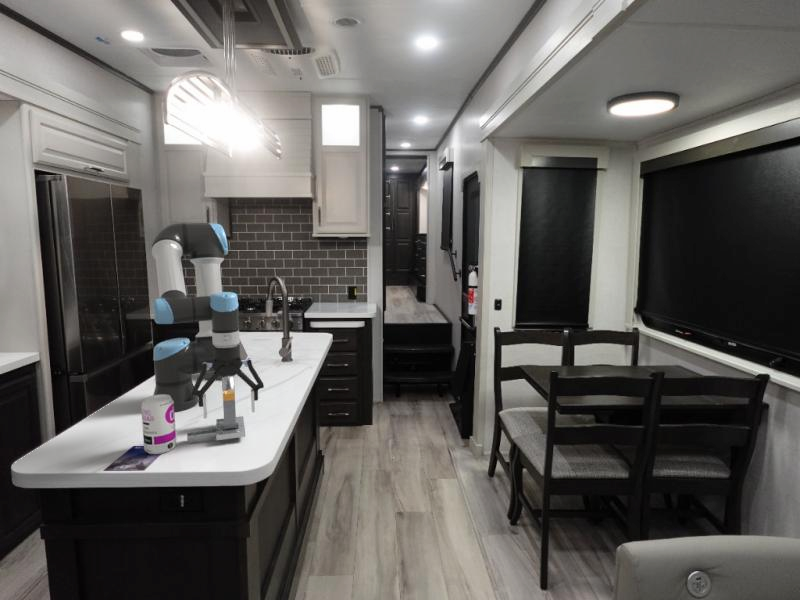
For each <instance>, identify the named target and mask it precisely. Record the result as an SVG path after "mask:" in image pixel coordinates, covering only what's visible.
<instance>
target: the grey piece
mask: <svg viewBox="0 0 800 600" xmlns="http://www.w3.org/2000/svg"><path fill="white" fill-rule="evenodd" d="M221 384H222V387H221V389H222V392H223V391H228V390H234V392H235V391H236V388H235V387H236V386H235V376H225V377H222V379H221ZM222 404H223V403H222ZM222 406H223V410H224V404H223V405H222ZM235 416H236V429H234V430H226V431H225V424H224V418H216V422H215V423H216V426H215V429H206V430H199V431H190V432H187V435H186V438H187V445H189V444H196V443H203V442H211V441H220V440H221V441H222V440H228V439H229V440H230V438H231V439H237V438H243V437H244V438H245V437H246V429H245V428H246V427H245V420H244V416H243V415H242V416H241V415H240V416H237V415H236V408H235Z"/></svg>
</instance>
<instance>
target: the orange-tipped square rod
mask: <svg viewBox="0 0 800 600" xmlns="http://www.w3.org/2000/svg"><path fill="white" fill-rule="evenodd" d="M222 404H224V409H223V419H224V424H225V429H224V431H226V430H234V429H237V428H236V417H237V415H236V416H235V409H236V394H235V392H234V390H228V391H223V390H222ZM230 439H232V438H230ZM230 439H229V440H230Z"/></svg>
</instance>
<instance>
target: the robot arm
mask: <svg viewBox="0 0 800 600" xmlns="http://www.w3.org/2000/svg"><path fill="white" fill-rule="evenodd" d="M226 235H227V234H226V232H225V229H224V227H223V226H222V225H221V224H219V223H212V222H211V223H210V222H193V223H192V222H185V223H184V222H176V223H171V224H169V225H166V226H165V227H163V228H162V229H160V231H158V232H157V233H156V234H155V236H154V237H153V240H152V242H151V247H150V249H151V250H150V251H151V255H152V257H153V259H154V260H155V265H156V274H157V285H158V294H159V298H156V299H154V300H153V302H152V304H153V317H154V318H153V319H154V322H155V323H156V324H158V325H173V324H182V323H183V324H184V323H193V322H196V323H197V322H198V327H199V332H198V333H197V334H196V335H195V340H194V341H191V340H190V339H189V337H188V338H187V337H176V338H171V339H170V338H169V339H166V340H164V341H161V342H159V343H157V344H156V345H155V346H154V348H153V359H152V361H154V363H153V364H154V381H155V386H154V387H155V388H154V392H153V394H152V396H153V395H160V394H166V395H170V396H171V398H172V400H173V401H174V413H176V412H181V411H184V410H185V411H186V410H188V409H191V408H193V407H196V405H198V406H199V408H203V419H207V418H208V409H207V407H208V406H207V394H206V392H208V390H209V389H210V388H211V386H212V385H213V383H215V381H216V380H218V379H217V378H218V377H219V375H220V376H222V377H225V376H233V375H235V374H236V375H237V377H239V378H240V379H241V380H243V381H244V383H245V384H247V385H248V386H249V387H250V388H251V389H250V396H251V397H250V400H251V401H250V402H251V404H250V405H251V413H256V407H255V401H256V402H257V401H259V390H260V389H263V388H264V387H265V385H264V382H263V381H262V379H261V377H260V376H259V374H258V372H257V371H256V369H255V367H254V365H253V362H252V359H251V357H247V358H246V360H241V358H240V345H239V344H238V343H240V341H241V339H240V325H239V324H240V322H239V306H240V305H239V301H238V300H239V299H238V295H237V293H235V292H233V291H223V286H222V274H221V264H222V262H223V261H224V260H225V256H226V255H228V254H229V249H228V246H229V245H228V240H227V236H226ZM182 256H183V257H184V256H185V257H186V256H187V257H189V262H190V263H192V264H193V265H194V271H195V286H196V296H187V290H186V286H185V285H186V283H185V277H184V272H183V271H184V270H183V265H182V259H181V258H182ZM242 366H245V367H246V368H248V371H249V372H250V374H251V375H252V377H253V379H254V380H255V382H256V383H255V382H254V381H253V380H252V379H251V378H250V377H249V376H247V375H246V373H244V371H242V370H241V368H242ZM240 367H241V368H240ZM207 372H214V373H213V375H212V376H211V377H210V379H207V381H206V382H205V384H204V385H203V386H202V387H201V384H202V382H203V380H204V378H205V377H204V376H205V374H206V373H207ZM198 374H199V375H198ZM192 375H198V377H197V379H196V381H195V384H194V383H193V378H192ZM236 375H235V376H236ZM200 387H201V389H200ZM199 389H200V390H199Z"/></svg>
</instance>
